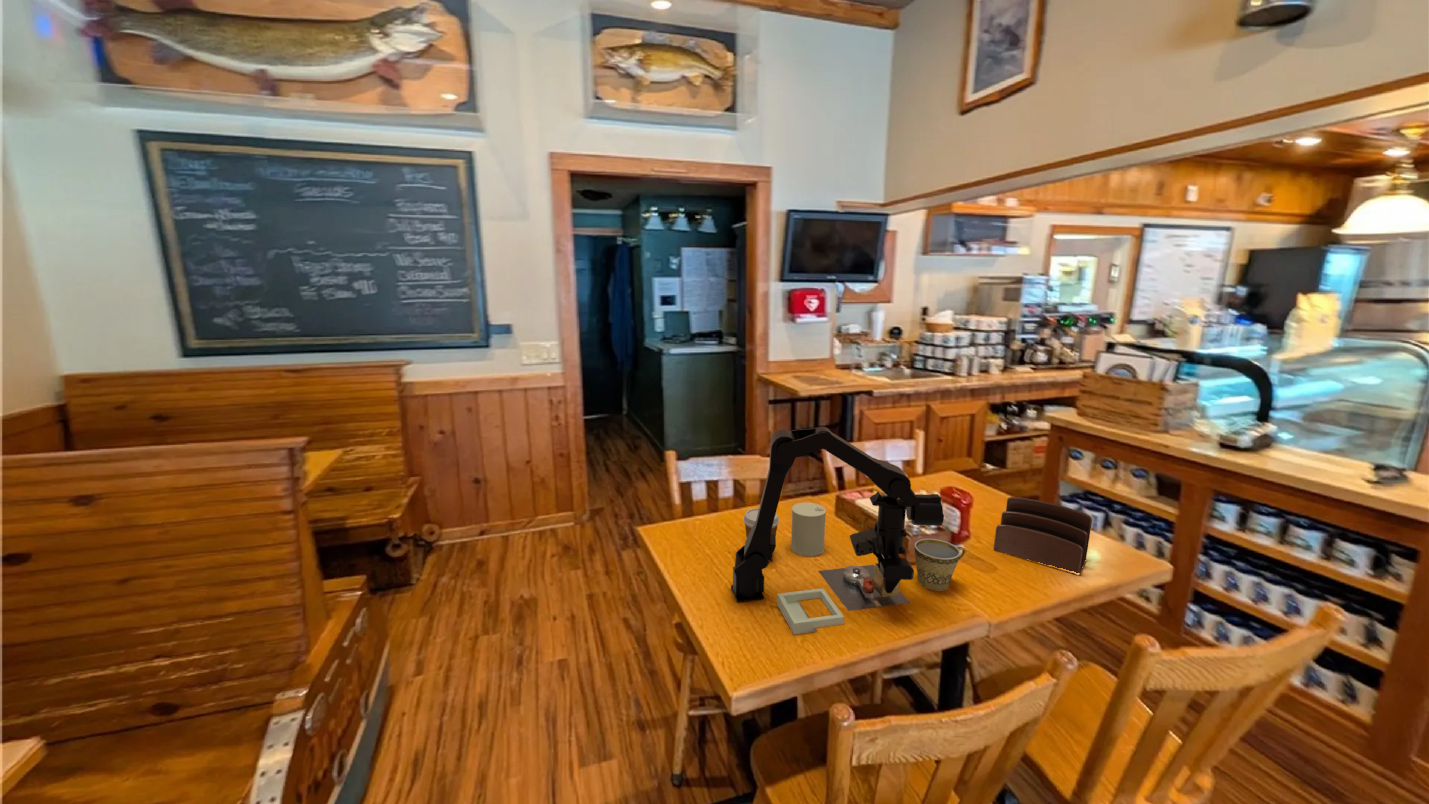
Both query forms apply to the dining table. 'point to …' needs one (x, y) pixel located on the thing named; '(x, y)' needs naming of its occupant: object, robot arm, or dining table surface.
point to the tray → (799, 617)
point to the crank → (860, 579)
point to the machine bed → (858, 591)
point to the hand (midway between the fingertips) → (886, 586)
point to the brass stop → (882, 584)
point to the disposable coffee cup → (751, 519)
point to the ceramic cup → (936, 562)
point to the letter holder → (1044, 533)
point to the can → (808, 529)
